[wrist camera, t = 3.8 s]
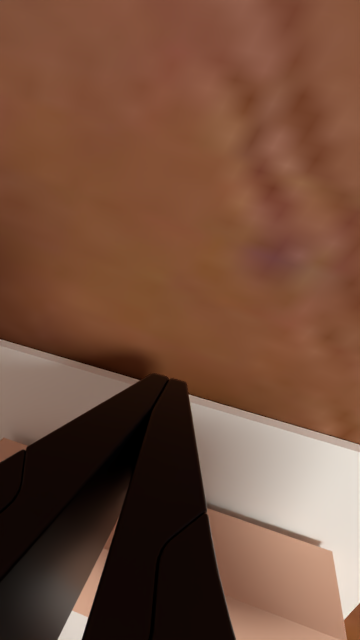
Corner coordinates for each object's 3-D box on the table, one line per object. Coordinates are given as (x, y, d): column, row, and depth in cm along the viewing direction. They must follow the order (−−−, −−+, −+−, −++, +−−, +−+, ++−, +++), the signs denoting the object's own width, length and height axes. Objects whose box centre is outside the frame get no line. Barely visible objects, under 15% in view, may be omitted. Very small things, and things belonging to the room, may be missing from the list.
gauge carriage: (332, 551, 10) (347, 642, 8) (284, 618, 12) (287, 701, 10) (-64, 414, 12) (-126, 460, 10) (-42, 493, 15) (-89, 542, 13)
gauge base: (461, 474, 8) (546, 608, 6) (218, 749, 23) (212, 822, 20) (-119, 304, 11) (-232, 344, 9) (-9, 644, 26) (-39, 696, 23)
